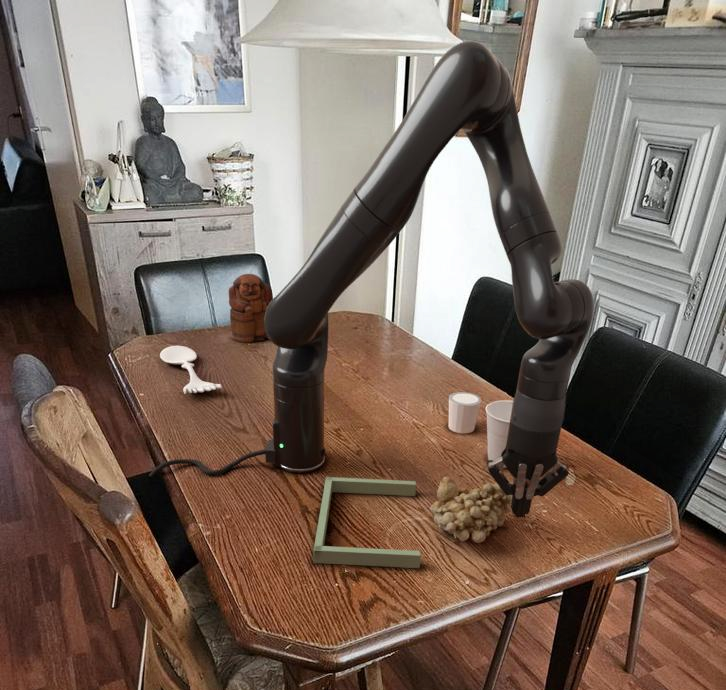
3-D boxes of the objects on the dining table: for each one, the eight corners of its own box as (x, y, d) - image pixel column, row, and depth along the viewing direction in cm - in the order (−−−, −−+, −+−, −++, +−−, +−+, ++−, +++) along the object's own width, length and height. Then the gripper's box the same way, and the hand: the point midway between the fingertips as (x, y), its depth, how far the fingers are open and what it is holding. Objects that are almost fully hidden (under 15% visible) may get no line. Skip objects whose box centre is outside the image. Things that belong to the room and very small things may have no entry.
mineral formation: (514, 517, 108) (495, 563, 96) (440, 509, 114) (412, 551, 101) (514, 475, 105) (494, 516, 93) (437, 469, 110) (409, 507, 98)
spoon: (185, 404, 142) (183, 390, 141) (157, 356, 166) (155, 344, 165) (224, 398, 146) (223, 384, 144) (191, 352, 170) (190, 340, 168)
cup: (518, 479, 119) (528, 427, 114) (470, 464, 124) (477, 413, 118) (535, 458, 127) (545, 408, 121) (489, 444, 131) (497, 395, 125)
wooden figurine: (236, 344, 176) (231, 279, 167) (230, 337, 181) (225, 273, 172) (276, 339, 181) (274, 275, 171) (270, 332, 186) (267, 270, 176)
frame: (313, 563, 96) (313, 550, 95) (325, 488, 114) (326, 476, 113) (419, 568, 96) (420, 555, 95) (414, 492, 114) (416, 481, 113)
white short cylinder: (476, 436, 134) (480, 406, 130) (444, 432, 135) (447, 402, 131) (477, 422, 139) (482, 393, 136) (447, 419, 140) (450, 390, 137)
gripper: (574, 409, 97) (554, 503, 106) (488, 406, 97) (475, 500, 106) (587, 431, 90) (564, 529, 100) (495, 428, 91) (481, 526, 100)
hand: (518, 514), depth 103 cm, fingers closed
